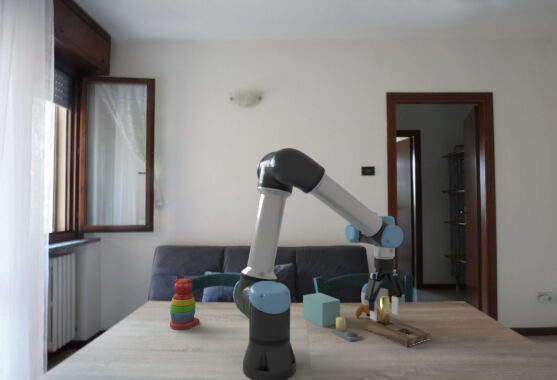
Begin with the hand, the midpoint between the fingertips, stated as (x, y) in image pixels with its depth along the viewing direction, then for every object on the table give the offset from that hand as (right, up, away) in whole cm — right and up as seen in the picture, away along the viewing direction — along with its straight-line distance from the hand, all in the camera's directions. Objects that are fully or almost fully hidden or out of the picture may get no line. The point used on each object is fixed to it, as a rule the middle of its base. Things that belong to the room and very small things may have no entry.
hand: (384, 316), depth 133 cm
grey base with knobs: (-15, -4, -6) cm, 17 cm away
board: (+3, -5, -4) cm, 7 cm away
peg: (0, -5, 0) cm, 5 cm away
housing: (-22, -5, +10) cm, 25 cm away
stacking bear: (-76, -5, +3) cm, 76 cm away
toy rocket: (-3, -5, +13) cm, 14 cm away
